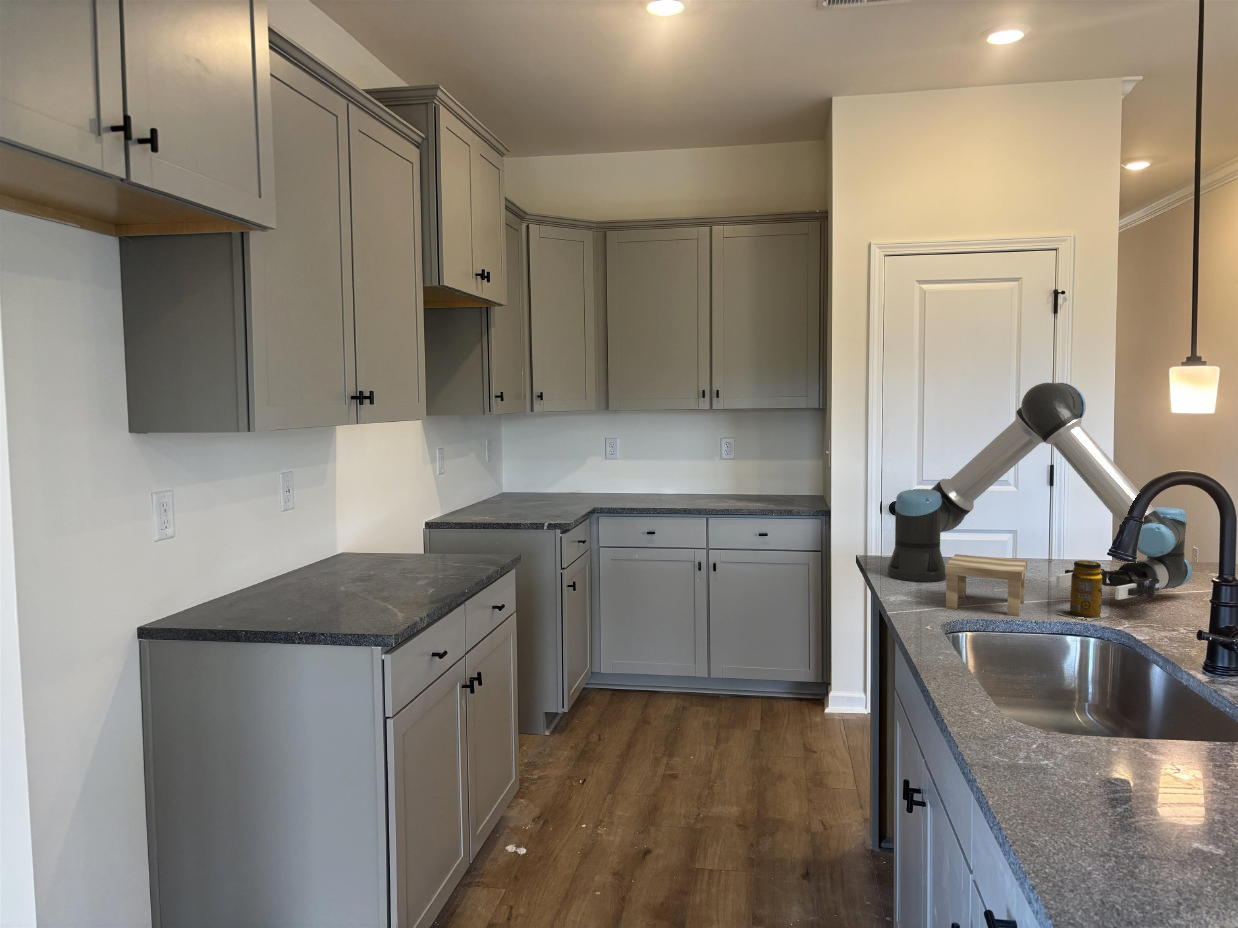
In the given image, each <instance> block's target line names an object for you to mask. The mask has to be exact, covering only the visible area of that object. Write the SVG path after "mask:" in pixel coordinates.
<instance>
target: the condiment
mask: <svg viewBox="0 0 1238 928" xmlns="http://www.w3.org/2000/svg"><path fill="white" fill-rule="evenodd" d="M1101 569H1102V565H1101V563H1100V562H1097V561H1094V560H1075V561H1074V563H1073V569H1072V570H1074V571H1073V573H1072V577H1071V585H1070V600H1069V601H1070V602H1069V603H1070V604H1069V610H1065V611H1060V612H1057V613H1056V614H1057V615H1060V616H1065V617H1067V618H1072V617H1073V619H1075V618H1076V619H1078V620H1081V619H1083V620H1082V621H1087V622H1091V621H1094V620H1099V619H1103V618H1106V617H1108V616H1109V614H1105V613H1102V600H1103V599H1102V595H1103V593H1102V591H1103V585H1102V576H1101V574H1100V573H1101ZM1074 617H1075V618H1074ZM1078 617H1084V618H1078ZM1099 617H1101V618H1099ZM1087 618H1089V619H1087ZM1085 619H1087V620H1085Z"/></svg>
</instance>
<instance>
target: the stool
mask: <svg viewBox="0 0 1238 928" xmlns="http://www.w3.org/2000/svg"><path fill="white" fill-rule="evenodd" d="M1027 569H1028V560H1027V559H1019V558H1018V559H1017V558H1005V557H1004V558H1003V557H994V556H982V555H981V556H980V555H979V556H978V555H968V554H957V553H954V555H953V556H952V557H951V559H950V560H949V561H948V562H947V563H945V574H946V579H945V581H946V583H945V585H946V586H945V587H946V588H945V609H951V610H952V609H954V610H958V608H959V598H966V595H967V577H971V578H973V577H974V578H982V579H983V578H985V579H993V580H1005V581H1007V609H1006V613H1007V615H1008V616H1015V617H1020V615H1021V604H1022V605H1023V604H1024V603H1025V593H1026V592H1025V590H1026V589H1025V586H1026V571H1027Z"/></svg>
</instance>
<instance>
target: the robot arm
mask: <svg viewBox="0 0 1238 928" xmlns="http://www.w3.org/2000/svg"><path fill="white" fill-rule="evenodd" d="M1086 404H1087V403H1086V399H1085V397H1084V395H1083V393H1082V392H1081V391H1080V390H1079V389H1078V388H1077V387H1075V386H1073V385H1071V384H1069V383H1066V382H1043V383H1039V384H1036V385H1034V386H1032V387H1031V388H1030V389H1028V390H1027V392H1025V395H1024V396H1023V398H1022V399H1021V404H1020V405H1021V406H1020V407H1019V408H1018V409H1017V410H1016V411H1015V420H1014V421H1013V422H1011V424H1009V425H1008V426H1007V427H1005V429H1004V430H1003V431H1001V433H1000V434H998V435H997V436H996V437H995V438H994V439H993V440H992V441H990V442H989V443H988V444H987V445H986V446H985V447H984V448H983V449H982V450H981V451H979V452H978V453H977V454H976V455H975V456H974V457H973V458H971V460H970V461H968V463H967V464H965V465H964V466H963V467H961V469H960V470H958V471H957V473H955V474H954V475H953V476H952V477H950V478H942V479H940V480H939V481H938V482H937V483H936V484H935V485H934V486H933V487H931V488H930V489H929V488H915V489H913V488H912V489H906V490H902V491H900V492H899V493H898V494H897V496H896V497H895V498H896V499H895V504H894V508H895V509H894V510H895V512H894V513H895V518H894V520H895V521H894V522H895V523H894V524H895V527H894V529H895V530H894V534H895V535H894V536H895V537H894V539H895V540H894V549H893V551H892V555H891V557H890V560H889V563H888V566H887V575H888V576H889V577H891V578H893V579H898V580H903V581H909V582H922V583H923V582H927V583H929V582H940V581H945V580H946V578H947V574H945V565H946V563H945V561H944V559H943V558H944V557H943V555H942V551H941V533H945V532H949V531H951V530H954V529H955V528H957V527H959V526H960V525H961V524H962V522H963V521H964V519H965V517H966V516H967V515H968V514H969V513H970V512H972V511H973V510H974V506H975V505H974V503H975V502H974V501H975V500H977V499H978V498H979V497H980V496H982V494H984V493H985V492H986V491H987V490H988V489H990V487H991V486H993V485H994V484H995V483H996V482H998V480H1000V479H1001V478H1002V477H1003V476H1005V474H1007V473H1008V471H1010V470H1011V469H1012V468H1013V467H1015V466H1016V465H1017V464H1018V463H1019V462H1021V460H1023V459H1024V458H1025V457H1026V456H1028V455H1029V454H1030V453H1031V452H1032V451H1033V450H1034V449H1035V448H1037V446H1039V445H1040V444H1042V443H1045V444H1047V445H1051V446H1054V448H1055V449H1056V451H1058V453H1059V454H1060V455H1061V456H1062V457H1063V459H1065V461H1066V462H1067V463H1068V464H1069V466H1071V468H1072V469H1073V470H1074V471H1075V472H1076V474H1077V475H1078V476H1079V477H1080V478H1081V479H1082V481H1084V483H1085V484H1086V485H1087V486H1088V488H1090V490H1091V491H1092V492H1093V493H1094V495H1096V497H1097V498H1098V499H1099V500H1100V501H1101V503H1102V504H1103V505H1104V506H1105V508H1107V510H1109V512H1110V513H1111V514H1112V515H1113V516H1114V517H1115V519H1116V520H1117V521H1118V522H1119V524H1120V525H1122V522H1123V520H1124V518H1125V517H1126V515H1127V514H1128V511H1129V509H1130V506H1131V505H1132V503H1133V501H1134V500H1135V498H1136V497H1137V495H1138V494H1139V493H1141V492H1140V491H1139V489H1137V487H1136V486H1135V485H1134V484H1133V483H1132V481H1130V479H1129V478H1128V477H1127V475H1125V474H1124V473H1123V471H1122V470H1121V469H1120V468H1119V467H1118V466H1117V464H1116V463H1115V462H1114V461H1113V460H1112V459H1111V458H1110V457H1109V456H1108V454H1107V453H1106V452H1105V450H1103V449H1102V448H1101V447H1100V445H1099V444H1098V443H1097V442H1096V440H1095V439H1094V438H1093V437H1092V436H1091V435H1090V434H1089V432H1087V430H1086V429H1085V428H1084V427H1083V426H1082V419H1083V417H1084V415H1085V412H1086V408H1087V406H1086ZM1186 513H1187V512H1186V511H1185V510H1184V509H1182V508H1177V507H1168V506H1167V507H1166V506H1156V507H1155V506H1153V505H1149V507H1148V509H1147V511H1146V513H1145V517H1144V524H1143V526H1142V528H1141V534H1140V538H1139V543H1138V547H1137V549H1136V550H1137V551H1138V552H1139V553H1141V555H1144V556H1146V559H1140V560H1136V561H1137V563H1129V562H1126V563H1124V564H1122V565H1121V566H1119V568H1118V569H1114V570H1105V569H1104V568H1101V573H1100V574H1101V576H1102V586H1104V587H1115V593H1114V595H1115V597H1114V598H1115V600H1118V601H1119V600H1124V599H1131V598H1134V597H1137V596H1138V597H1144V596H1145V595H1146V596H1147V598H1150V599H1154V598H1155V596H1156V592H1158V591H1161V590H1167V589H1175V588H1178V587H1181V586H1183V585H1185V584H1187V583H1188V582H1189V581H1190V580H1191V578H1192V577H1193V576H1192V575H1193V568H1192V566H1191V563H1190V562H1189V561H1188V560H1187V559H1186V558H1185V546H1186V545H1185V544H1186V529H1187V524H1188V523H1187V514H1186ZM1073 571H1074V570H1073V569H1064V573H1062V574H1056V576H1055V577H1056V578H1055V580H1056V582H1055V588H1063V587H1064V588H1065V587H1068V586H1069V587H1071V577H1072V573H1073ZM1107 581H1108V582H1107Z"/></svg>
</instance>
